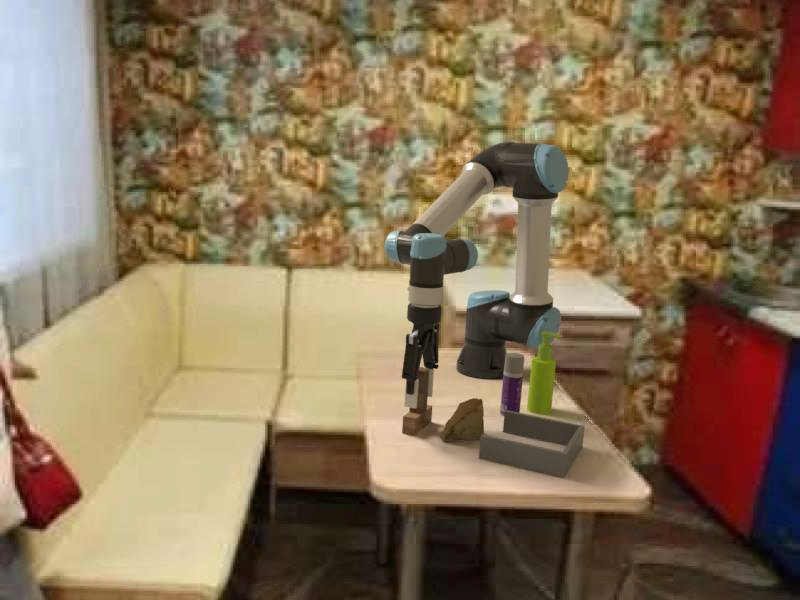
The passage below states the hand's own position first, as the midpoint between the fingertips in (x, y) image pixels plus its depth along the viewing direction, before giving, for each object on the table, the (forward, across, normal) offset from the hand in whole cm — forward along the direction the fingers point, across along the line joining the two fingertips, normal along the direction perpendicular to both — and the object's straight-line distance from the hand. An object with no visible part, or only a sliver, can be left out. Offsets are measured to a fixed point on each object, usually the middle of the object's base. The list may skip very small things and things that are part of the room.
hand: (418, 401), depth 179 cm
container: (+7, -20, +16) cm, 26 cm away
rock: (+7, 0, +11) cm, 13 cm away
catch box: (+6, 0, +27) cm, 28 cm away
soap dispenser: (+7, -27, +22) cm, 35 cm away
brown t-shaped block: (+6, 0, 0) cm, 6 cm away
